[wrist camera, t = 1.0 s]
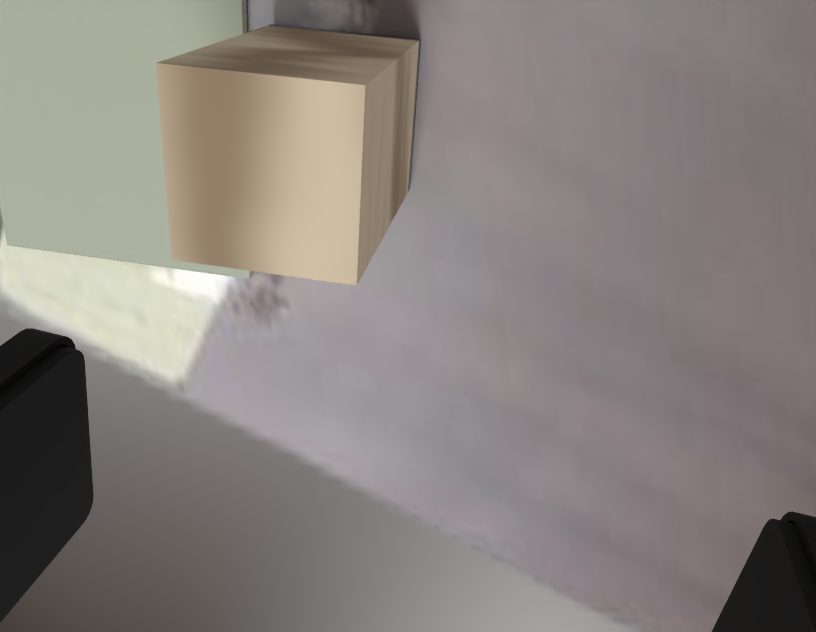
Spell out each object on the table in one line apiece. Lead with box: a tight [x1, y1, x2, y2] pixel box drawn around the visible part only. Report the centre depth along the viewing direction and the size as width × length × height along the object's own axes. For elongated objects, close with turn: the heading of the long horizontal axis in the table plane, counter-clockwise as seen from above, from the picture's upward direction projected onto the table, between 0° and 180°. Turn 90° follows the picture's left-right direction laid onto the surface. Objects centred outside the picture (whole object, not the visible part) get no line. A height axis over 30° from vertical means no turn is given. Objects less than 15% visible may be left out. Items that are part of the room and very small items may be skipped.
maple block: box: [156, 25, 421, 285], centre depth 27 cm, size 6×6×10 cm
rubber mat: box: [0, 0, 253, 279], centre depth 32 cm, size 12×16×1 cm
